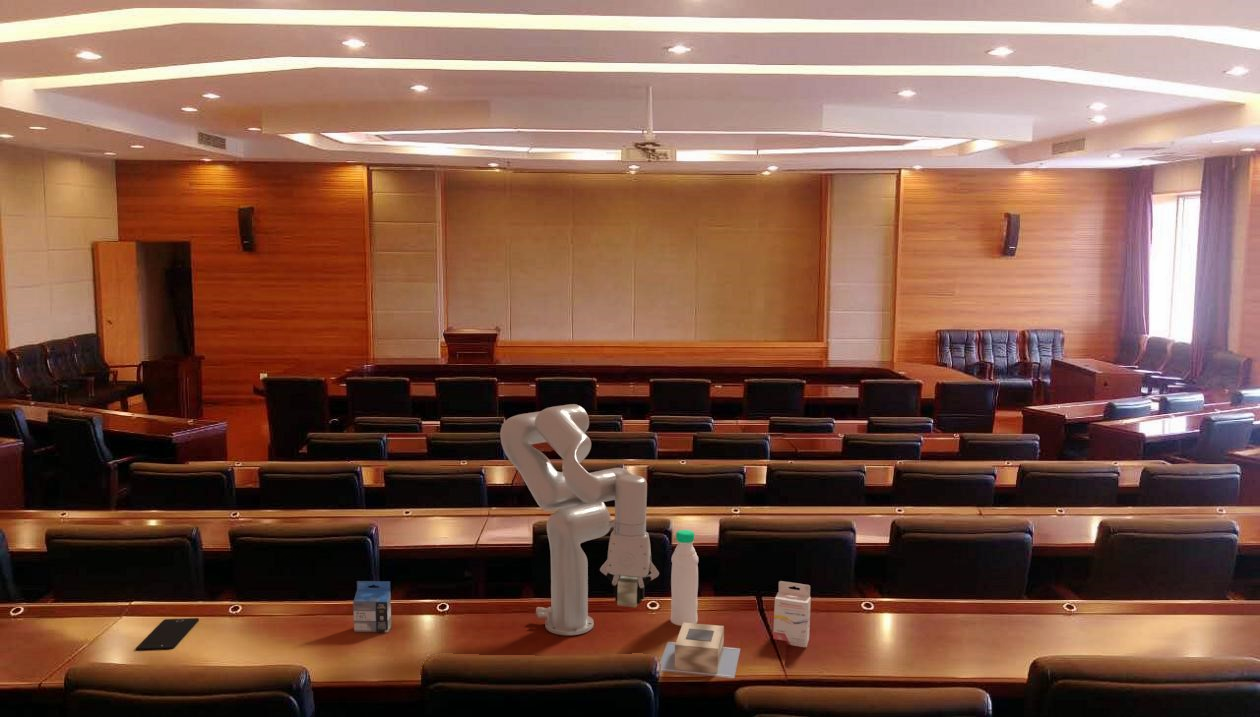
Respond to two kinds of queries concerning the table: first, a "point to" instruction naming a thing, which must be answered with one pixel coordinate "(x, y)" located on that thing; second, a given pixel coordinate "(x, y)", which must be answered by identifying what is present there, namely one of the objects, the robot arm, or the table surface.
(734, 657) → the board
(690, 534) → the water bottle
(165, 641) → the cell phone
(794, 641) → the ink cartridge box
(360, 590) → the label tape cartridge
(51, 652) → the table surface
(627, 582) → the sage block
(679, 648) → the plinth
